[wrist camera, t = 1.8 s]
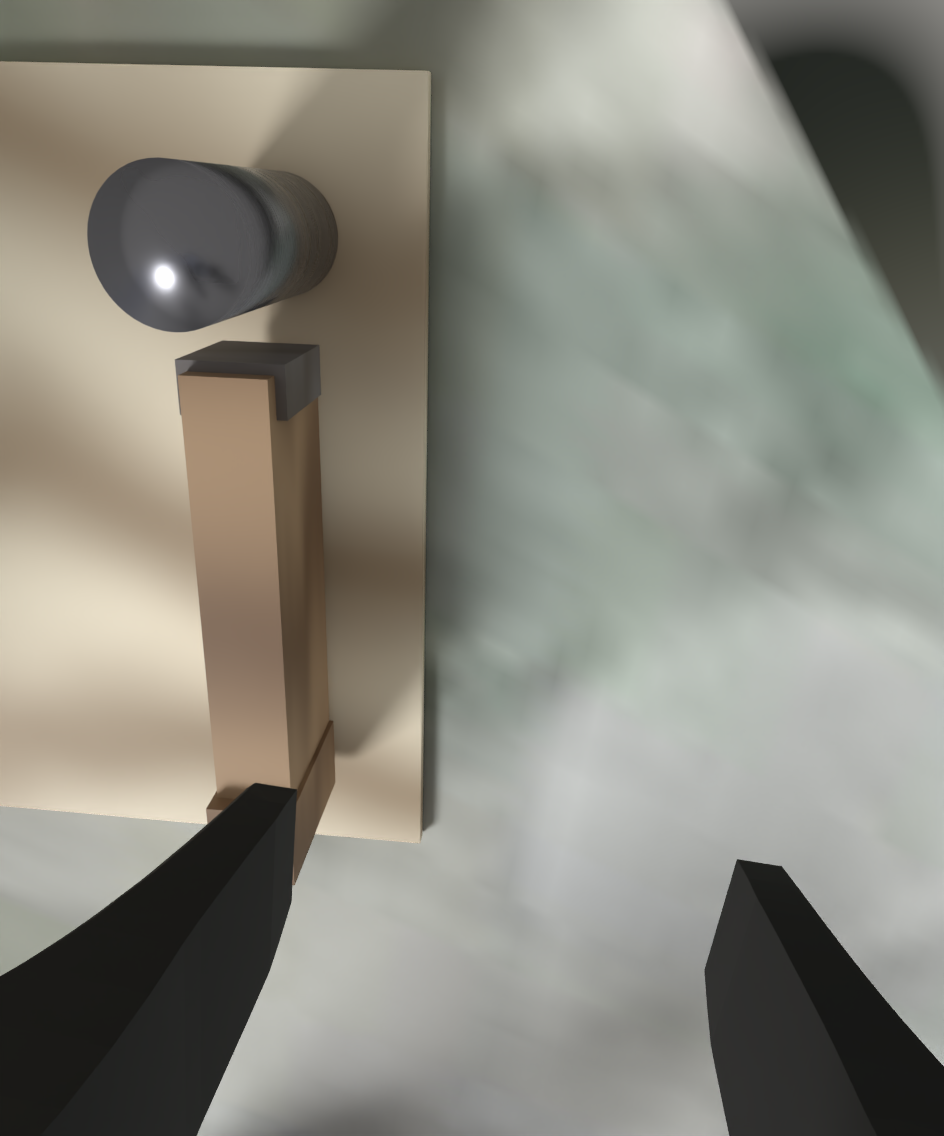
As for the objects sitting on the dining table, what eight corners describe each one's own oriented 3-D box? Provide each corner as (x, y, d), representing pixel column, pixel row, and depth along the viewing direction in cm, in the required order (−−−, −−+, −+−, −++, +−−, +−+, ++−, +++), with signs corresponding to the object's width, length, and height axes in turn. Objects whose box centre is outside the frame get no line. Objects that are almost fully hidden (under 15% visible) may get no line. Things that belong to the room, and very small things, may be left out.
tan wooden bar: (231, 336, 19) (155, 367, 15) (325, 341, 18) (270, 372, 15) (262, 775, 23) (207, 876, 19) (339, 782, 23) (299, 885, 19)
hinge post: (344, 297, 19) (252, 336, 13) (233, 292, 19) (98, 328, 14) (341, 172, 18) (241, 159, 12) (225, 169, 18) (76, 154, 13)
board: (422, 833, 24) (420, 843, 24) (-139, 783, 25) (-149, 792, 25) (431, 73, 17) (428, 70, 17) (-339, 56, 18) (-358, 53, 18)
